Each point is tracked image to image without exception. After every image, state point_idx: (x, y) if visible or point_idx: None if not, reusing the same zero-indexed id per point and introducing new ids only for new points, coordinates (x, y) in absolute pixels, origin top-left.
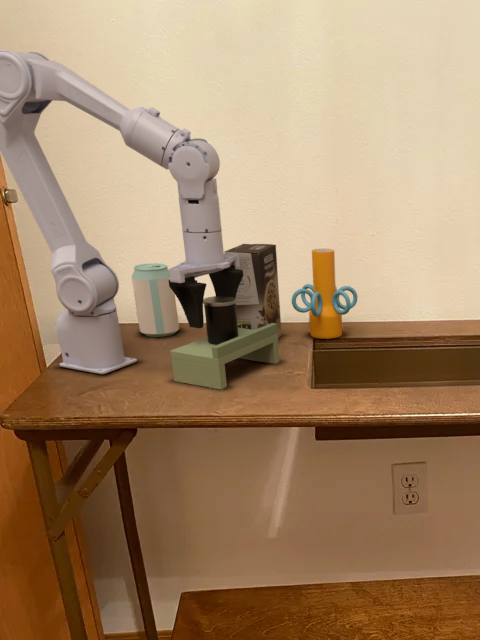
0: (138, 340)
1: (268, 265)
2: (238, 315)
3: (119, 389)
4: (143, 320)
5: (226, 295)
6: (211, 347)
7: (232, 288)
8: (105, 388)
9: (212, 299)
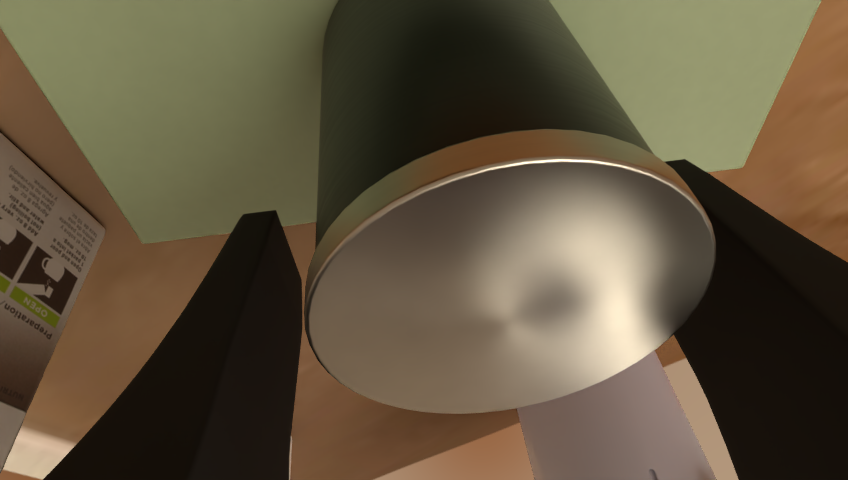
0: (326, 419)
1: None
2: (5, 330)
3: (798, 166)
4: (289, 477)
5: (253, 394)
6: (621, 21)
7: (202, 441)
8: (789, 204)
9: (542, 355)
